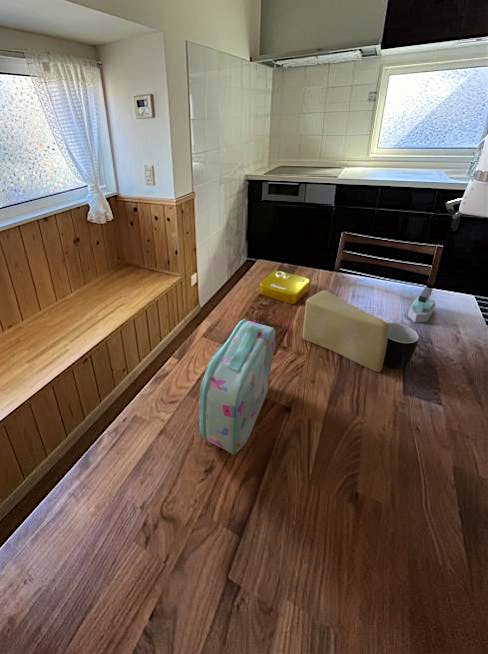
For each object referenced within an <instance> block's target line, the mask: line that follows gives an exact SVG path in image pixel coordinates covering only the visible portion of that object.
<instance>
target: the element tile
mask: <svg viewBox="0 0 488 654" xmlns="http://www.w3.org/2000/svg"><path fill="white" fill-rule="evenodd" d="M309 290H310V279H309V278H307V277H304V276H300V275H297V274H293V273H290V272H289V273H288V272H285V271H283V270H274V271H272V272H271V273H270V274H269V275H268V276H266V277H265V278H264V279H263V280H261V281H260V282H259V294H260V295H262V296H264V297H268V298H271V299H274V300H277V301H280V302H283V303H286V304H289V305H295V304H296V303H298V302H299V301H300V300H301V299H302V298H303V297H304V296H305V294H306V293H307V292H308V291H309Z"/></svg>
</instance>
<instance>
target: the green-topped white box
mask: <svg viewBox="0 0 488 654" xmlns="http://www.w3.org/2000/svg"><path fill="white" fill-rule="evenodd" d="M432 292H433V288H428V287H424V288H423V290H422V292H421V293H420V294H419V295H418V296H417V297H416V298H415V299H414V301H413V302H412V303H411V305H410V306H409V308H408V312H407V317H408V318H409V319H411V321H412V322H413V323H416V324H417V323H427V322H428V321H429V319H430V318H431V316H432V315H433V312H434V311H435V307H436V300H435V299H431V298H430V297H431V295H432Z"/></svg>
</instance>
